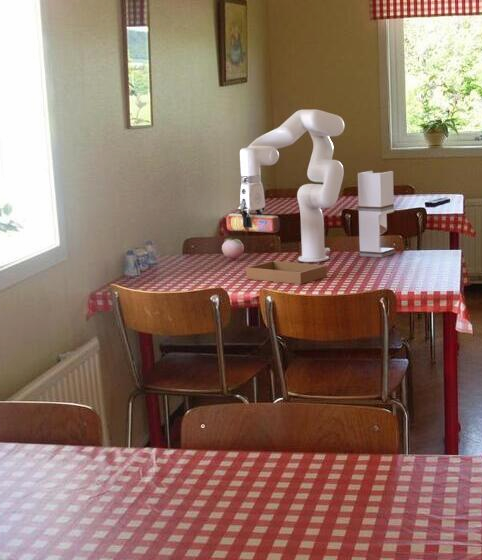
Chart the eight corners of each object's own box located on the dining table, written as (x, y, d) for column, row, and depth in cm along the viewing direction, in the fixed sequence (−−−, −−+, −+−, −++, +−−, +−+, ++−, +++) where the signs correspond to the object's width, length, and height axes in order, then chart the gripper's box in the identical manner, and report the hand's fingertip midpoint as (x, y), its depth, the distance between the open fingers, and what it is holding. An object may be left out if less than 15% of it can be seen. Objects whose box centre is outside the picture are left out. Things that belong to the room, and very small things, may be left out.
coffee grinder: (381, 257, 416) (380, 173, 409) (359, 255, 421) (357, 173, 414) (394, 253, 425) (393, 171, 419) (372, 251, 431) (371, 170, 424)
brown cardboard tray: (273, 271, 390) (272, 260, 389) (326, 276, 376) (326, 265, 375) (246, 278, 376) (245, 267, 375) (300, 284, 362) (300, 272, 361)
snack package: (281, 231, 384) (280, 213, 383) (273, 233, 378) (272, 216, 377) (234, 229, 393) (233, 212, 391) (225, 231, 387) (224, 214, 386)
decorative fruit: (218, 261, 417) (217, 237, 415) (227, 258, 424) (226, 235, 422) (238, 262, 413) (236, 238, 411) (247, 259, 420) (246, 235, 419)
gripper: (244, 182, 372) (247, 229, 376) (272, 178, 387) (274, 223, 390) (229, 182, 376) (231, 228, 380) (256, 177, 391) (259, 222, 394)
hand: (253, 225), depth 385 cm, fingers closed on snack package, 7 cm apart
